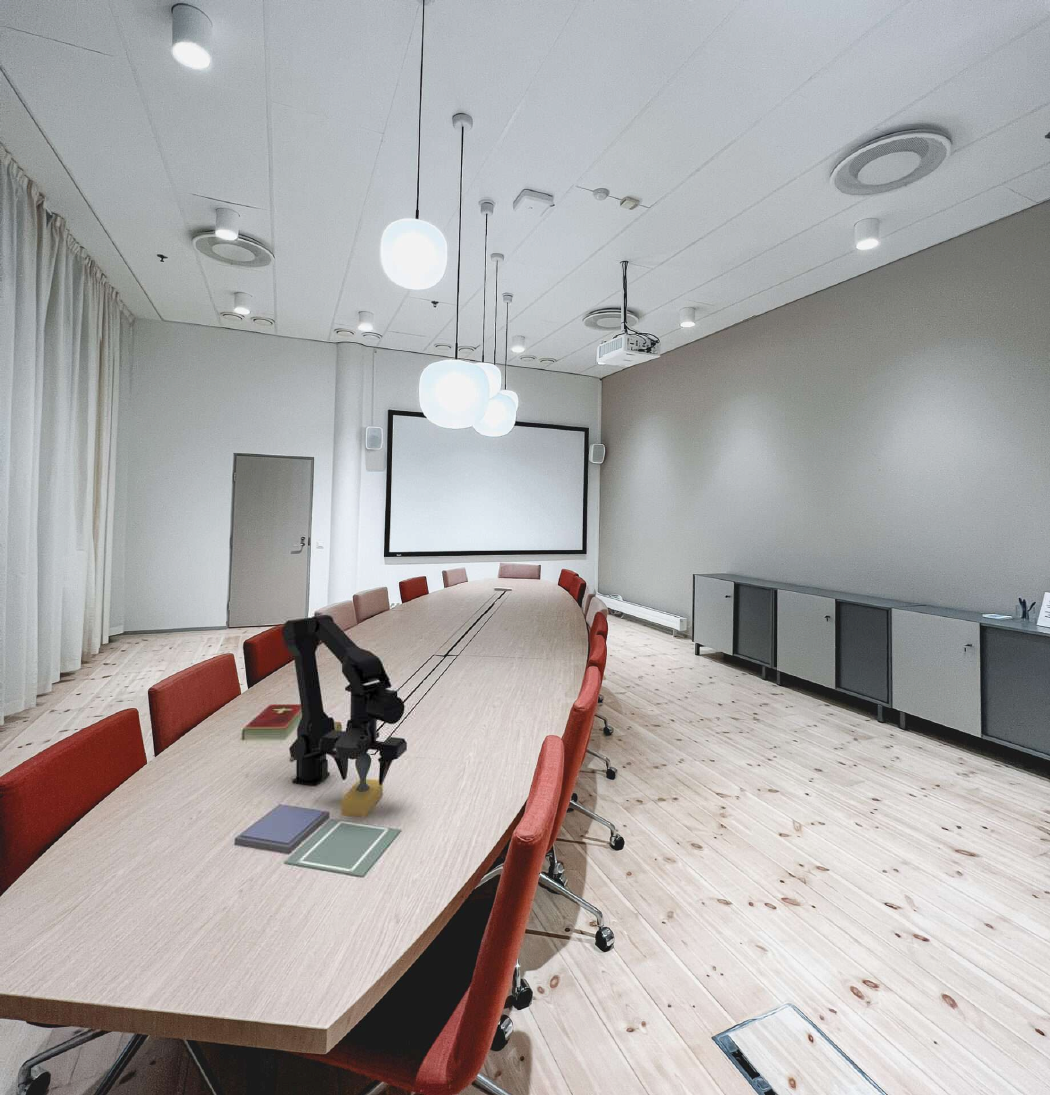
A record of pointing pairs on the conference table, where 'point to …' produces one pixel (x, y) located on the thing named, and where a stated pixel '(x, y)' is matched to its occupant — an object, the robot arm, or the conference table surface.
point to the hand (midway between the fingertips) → (362, 781)
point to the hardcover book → (273, 722)
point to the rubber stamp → (361, 790)
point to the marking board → (344, 847)
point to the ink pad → (282, 828)
